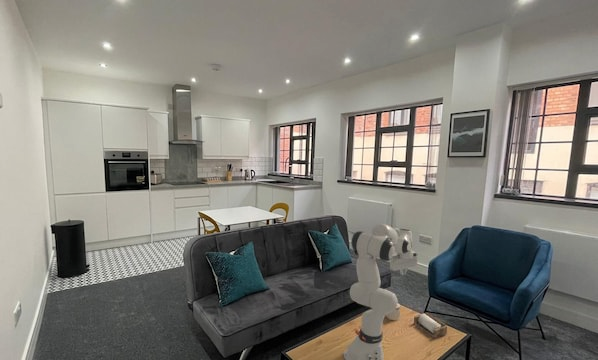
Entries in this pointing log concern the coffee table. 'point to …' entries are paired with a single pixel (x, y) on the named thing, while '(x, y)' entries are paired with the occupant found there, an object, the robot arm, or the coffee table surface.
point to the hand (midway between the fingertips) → (403, 274)
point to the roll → (428, 323)
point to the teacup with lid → (394, 313)
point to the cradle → (437, 332)
